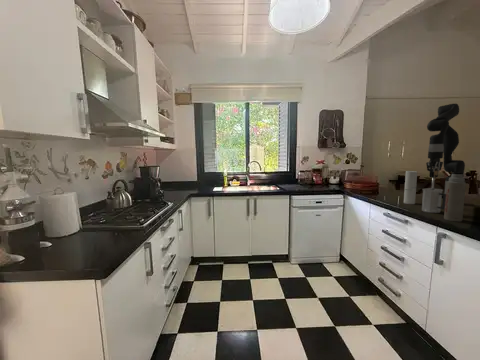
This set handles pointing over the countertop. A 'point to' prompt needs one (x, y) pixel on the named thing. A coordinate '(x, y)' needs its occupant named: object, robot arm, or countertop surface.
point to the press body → (433, 200)
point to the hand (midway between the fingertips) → (433, 177)
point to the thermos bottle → (455, 197)
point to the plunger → (434, 179)
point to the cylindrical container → (410, 187)
